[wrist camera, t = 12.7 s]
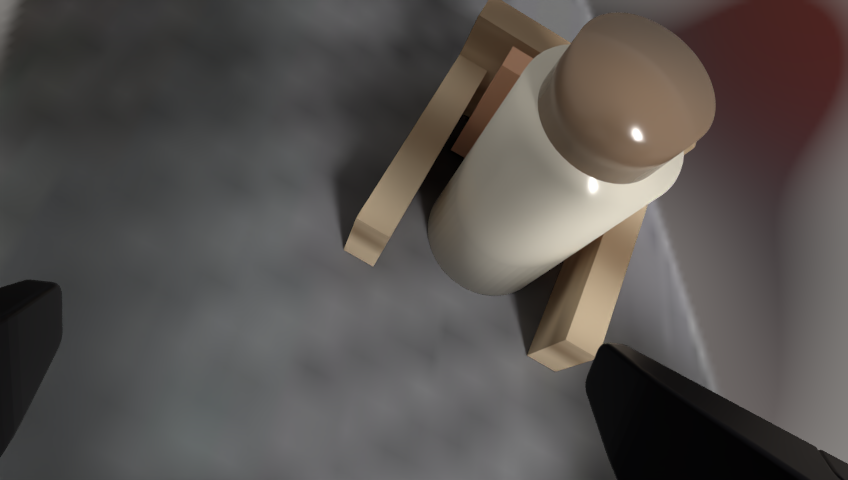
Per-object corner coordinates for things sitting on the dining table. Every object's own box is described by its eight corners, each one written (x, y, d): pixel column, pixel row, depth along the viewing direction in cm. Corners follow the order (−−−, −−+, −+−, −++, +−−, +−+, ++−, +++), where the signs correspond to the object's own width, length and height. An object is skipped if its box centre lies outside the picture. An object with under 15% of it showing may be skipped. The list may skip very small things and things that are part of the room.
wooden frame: (555, 371, 25) (636, 346, 19) (343, 249, 24) (367, 188, 19) (622, 184, 30) (701, 123, 25) (449, 80, 29) (492, -6, 24)
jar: (480, 320, 25) (654, 208, 14) (402, 216, 26) (508, 33, 15) (566, 254, 27) (769, 115, 16) (493, 161, 28) (640, -29, 17)
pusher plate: (572, 222, 28) (655, 158, 22) (450, 149, 27) (502, 65, 22) (580, 204, 28) (662, 137, 22) (460, 133, 28) (513, 46, 22)
